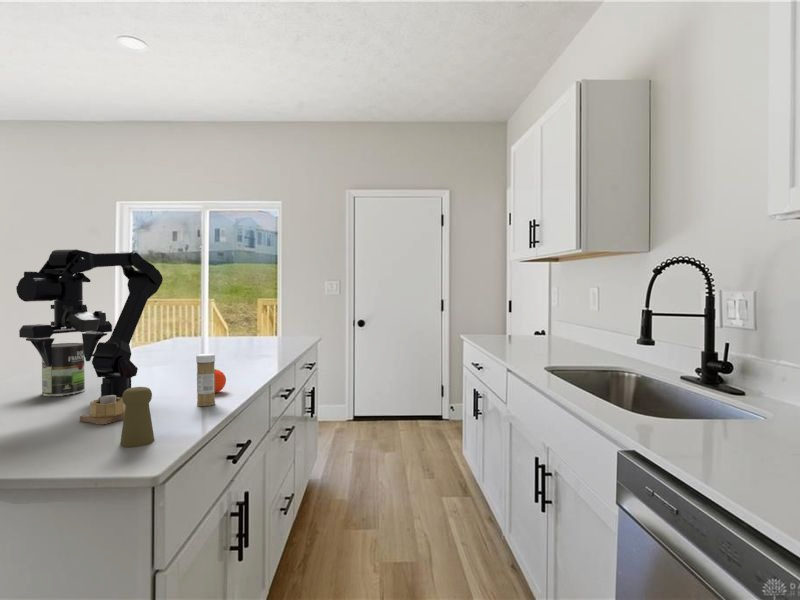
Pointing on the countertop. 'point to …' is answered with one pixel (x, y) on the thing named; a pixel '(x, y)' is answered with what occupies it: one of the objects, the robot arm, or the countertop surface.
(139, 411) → the cork
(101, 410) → the ring
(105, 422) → the peg stand
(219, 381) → the clementine
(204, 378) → the sprinkles bottle
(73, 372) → the coffee can
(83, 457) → the countertop surface
